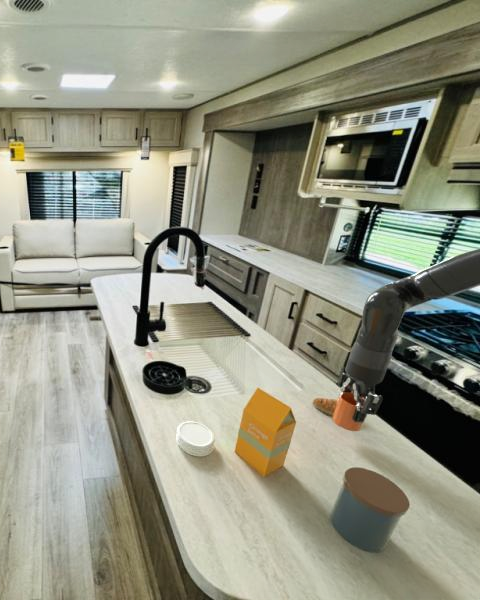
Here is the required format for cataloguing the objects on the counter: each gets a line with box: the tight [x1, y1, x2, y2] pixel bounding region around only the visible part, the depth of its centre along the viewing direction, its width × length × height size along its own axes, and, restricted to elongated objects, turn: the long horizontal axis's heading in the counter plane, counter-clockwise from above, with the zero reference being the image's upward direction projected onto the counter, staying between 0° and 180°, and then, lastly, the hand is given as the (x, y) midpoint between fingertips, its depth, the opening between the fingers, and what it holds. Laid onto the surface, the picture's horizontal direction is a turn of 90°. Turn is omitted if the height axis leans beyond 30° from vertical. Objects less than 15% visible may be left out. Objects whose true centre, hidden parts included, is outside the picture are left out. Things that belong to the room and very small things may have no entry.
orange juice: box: [234, 387, 297, 478], centre depth 79 cm, size 8×9×20 cm
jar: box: [329, 466, 411, 554], centre depth 64 cm, size 10×10×12 cm
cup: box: [331, 392, 368, 432], centre depth 86 cm, size 6×6×8 cm
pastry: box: [312, 397, 338, 417], centre depth 98 cm, size 9×7×4 cm
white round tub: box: [175, 420, 216, 457], centre depth 87 cm, size 10×10×4 cm
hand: (350, 412), depth 86 cm, fingers closed on cup, 6 cm apart
